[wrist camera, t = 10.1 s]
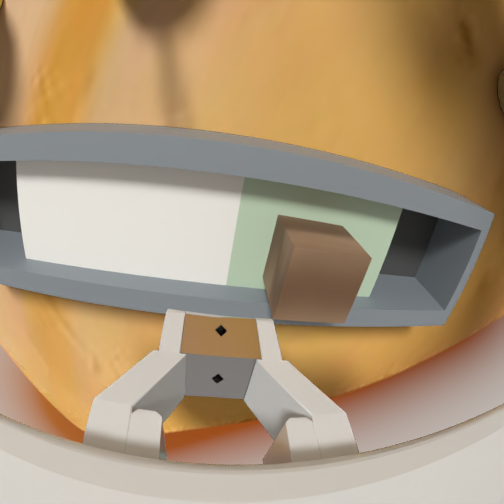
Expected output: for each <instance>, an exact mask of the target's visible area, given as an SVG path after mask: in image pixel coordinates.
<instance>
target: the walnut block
mask: <svg viewBox="0 0 504 504" xmlns="http://www.w3.org/2000/svg"><path fill="white" fill-rule="evenodd" d="M371 260H372V258H371V257H370V256H369V254H368V253H367V252H366V251H365V250H364V249H363V248H362V246H361V245H360V244H359V243H358V242H357V241H356V240H355V239H354V238H353V237H352V235H351V234H350V233H349V232H348V231H347V230H346V229H345V228H344V227H343V226H340V225H335V224H330V223H324V222H319V221H313V220H307V219H302V218H296V217H290V216H284V215H278V217H277V221H276V225H275V229H274V233H273V237H272V241H271V245H270V249H269V253H268V257H267V261H266V265H265V269H264V273H263V280H264V284H265V288H266V292H267V297H268V301H269V305H270V309H271V313H272V318H273V319H277V320H291V321H306V322H324V323H345V320H346V318H347V316H348V314H349V312H350V310H351V307H352V305H353V303H354V301H355V298H356V296H357V294H358V291H359V289H360V287H361V284H362V282H363V280H364V277H365V275H366V272H367V270H368V267H369V265H370V262H371Z"/></svg>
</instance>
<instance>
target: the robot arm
mask: <svg viewBox="0 0 504 504" xmlns="http://www.w3.org/2000/svg"><path fill="white" fill-rule="evenodd" d="M185 395H188V396H203V397H219V398H232V399H244V401H245V403H246V404H247V406H248V407H249V408H250V410H251V411H252V412H253V414H254V415H255V416H256V418H257V419H258V420H259V421H260V423H261V424H262V425H263V427H264V428H265V429H266V430H267V432H268V433H269V434H270V435H271V437H272V438H273V439H274V440H275V441H274V443H273V444H272V446H271V447H270V449H269V450H268V452H267V454H266V455H265V457H264V458H263V464H259V465H223V464H222V465H221V464H201V463H188V462H177V461H168V460H167V454H166V446H165V438H164V430H163V423H164V421H165V420H166V419H167V418H168V417H169V415H170V414H171V413H172V412H173V411H174V409H175V408H176V407H177V406H178V404H179V403H180V402H181V401H182V399H183V398H184V397H185ZM0 504H504V404H502V405H500V406H498V407H496V408H494V409H492V410H489V411H487V412H485V413H483V414H481V415H479V416H476V417H474V418H472V419H469V420H467V421H465V422H462V423H460V424H457V425H455V426H452V427H449V428H447V429H444V430H441V431H439V432H436V433H433V434H430V435H427V436H424V437H420V438H417V439H414V440H411V441H407V442H404V443H400V444H396V445H393V446H389V447H385V448H381V449H376V450H372V451H368V452H363V453H359V450H358V447H357V444H356V441H355V438H354V435H353V432H352V429H351V426H350V423H349V420H348V417H347V414H346V412H345V411H343V410H342V409H341V408H340V407H339V406H338V405H336V404H335V403H334V402H333V401H332V400H331V399H330V398H328V397H327V396H326V395H325V394H324V393H323V392H322V391H321V390H319V389H318V388H317V387H316V386H315V385H314V384H313V383H312V382H311V381H309V380H308V379H307V378H306V377H305V376H304V375H303V374H302V373H301V372H299V371H298V370H297V369H296V368H295V367H294V366H293V365H292V364H291V363H290V362H289V361H283V360H282V356H281V351H280V347H279V342H278V338H277V334H276V329H275V325H274V321H273V320H272V319H266V318H245V317H232V316H221V315H213V314H205V313H197V312H190V311H186V313H185V311H180V310H173V309H168V310H167V312H166V316H165V321H164V326H163V331H162V336H161V341H160V346H159V351H157V350H153V351H152V352H150V353H149V354H148V355H147V356H145V357H144V358H143V359H142V360H141V361H139V362H138V363H137V364H136V365H135V366H133V367H132V368H131V369H130V370H128V371H127V372H126V373H125V374H124V375H122V376H121V377H120V378H119V379H117V380H116V381H115V382H114V383H112V384H111V385H110V386H109V387H108V388H106V389H105V390H104V391H103V392H101V393H100V394H99V395H98V396H96V397H95V398H94V401H93V404H92V408H91V411H90V415H89V419H88V422H87V426H86V430H85V434H84V439H83V443H82V444H81V443H78V442H74V441H71V440H67V439H64V438H61V437H58V436H55V435H52V434H49V433H46V432H44V431H41V430H38V429H35V428H33V427H30V426H28V425H25V424H22V423H20V422H18V421H15V420H13V419H11V418H8V417H6V416H4V415H2V414H0Z"/></svg>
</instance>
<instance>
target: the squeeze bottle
mask: <svg viewBox="0 0 504 504" xmlns="http://www.w3.org/2000/svg"><path fill="white" fill-rule="evenodd" d="M498 97H499V101H500V106H501V108H502V111H503V113H504V69H503V70H502V72H501V73H500V75H499V80H498Z"/></svg>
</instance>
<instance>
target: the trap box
mask: <svg viewBox="0 0 504 504" xmlns="http://www.w3.org/2000/svg"><path fill="white" fill-rule="evenodd" d="M278 215H284V216H290V217H296V218H302V219H307V220H313V221H319V222H324V223H330V224H335V225H340V226H343V227H344V228H345V229H346V230H347V231H348V232H349V233H350V234H351V235H352V237H353V238H354V239H355V240H356V241H357V242H358V243H359V244H360V245H361V246H362V248H363V249H364V250H365V251H366V252H367V253H368V254H369V256H370V257H371V258H372V260H371V262H370V265H369V267H368V270H367V272H366V275H365V277H364V280H363V282H362V284H361V287H360V289H359V291H358V294H357V296H356V298H355V301H354V303H353V305H352V307H351V310H350V312H349V314H348V316H347V318H346V320H345V323H324V322H306V321H291V320H277V319H273V318H272V313H271V309H270V305H269V301H268V297H267V292H266V288H265V284H264V280H263V273H264V269H265V265H266V261H267V257H268V253H269V249H270V245H271V241H272V237H273V233H274V229H275V225H276V221H277V217H278ZM494 215H495V214H493V213H492V212H490V211H488V210H487V209H485V208H483V207H481V206H480V205H478V204H476V203H474V202H472V201H471V200H469V199H467V198H465V197H463V196H461V195H459V194H458V193H456V192H454V191H452V190H449V189H446V188H444V187H441V186H438V185H435V184H433V183H430V182H427V181H424V180H421V179H418V178H415V177H412V176H409V175H406V174H403V173H400V172H397V171H394V170H390V169H387V168H384V167H380V166H377V165H374V164H370V163H367V162H363V161H359V160H356V159H352V158H348V157H344V156H340V155H336V154H332V153H328V152H324V151H319V150H315V149H311V148H306V147H301V146H297V145H292V144H287V143H282V142H277V141H271V140H266V139H260V138H254V137H248V136H242V135H235V134H228V133H221V132H213V131H205V130H197V129H187V128H177V127H166V126H152V125H136V124H109V123H67V124H42V125H26V126H14V127H4V128H0V284H2V285H6V286H11V287H15V288H19V289H24V290H28V291H33V292H37V293H42V294H47V295H52V296H57V297H62V298H67V299H72V300H78V301H83V302H89V303H95V304H101V305H107V306H113V307H119V308H126V309H133V310H140V311H147V312H155V313H162V314H166V312H167V310H168V309H173V310H180V311H185V313H186V311H190V312H197V313H205V314H213V315H221V316H232V317H245V318H266V319H272V320H273V321H274V324H286V325H308V326H342V327H402V326H435V325H444V324H445V322H446V321H447V319H448V317H449V315H450V314H451V312H452V310H453V308H454V306H455V304H456V303H457V301H458V299H459V297H460V295H461V293H462V291H463V289H464V287H465V285H466V283H467V281H468V279H469V277H470V274H471V272H472V270H473V268H474V266H475V264H476V261H477V259H478V257H479V254H480V252H481V250H482V247H483V245H484V242H485V240H486V237H487V235H488V232H489V229H490V227H491V224H492V221H493V218H494Z"/></svg>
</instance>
